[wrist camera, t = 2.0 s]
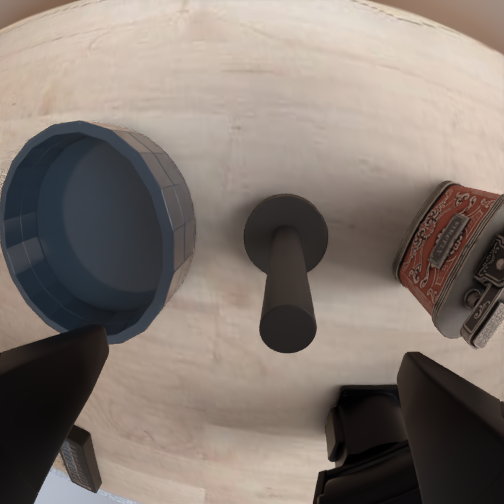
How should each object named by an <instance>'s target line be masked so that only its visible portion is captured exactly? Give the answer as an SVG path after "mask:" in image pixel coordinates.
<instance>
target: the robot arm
mask: <svg viewBox="0 0 504 504" xmlns="http://www.w3.org/2000/svg"><path fill="white" fill-rule="evenodd" d="M108 354H109V345H108V340H107V335H106V330H105V328H104V327H103V326H102V325H97V324H89V325H86V326H83V327H80V328H77V329H73V330H70V331H67V332H64V333H61V334H58V335H55V336H52V337H48V338H45V339H42V340H39V341H36V342H33V343H29V344H26V345H23V346H20V347H17V348H13V349H10V350H7V351H4V352H2V353H1V352H0V504H34V502H35V500H36V498H37V495H38V493H39V491H40V489H41V487H42V485H43V483H44V481H45V479H46V477H47V474H48V473H49V471H50V469H51V467H52V465H53V463H54V461H55V459H56V457H57V455H58V453H59V451H60V449H61V447H62V445H63V443H64V442H65V440H66V438H67V436H68V434H69V432H70V430H71V429H72V427H73V425H74V423H75V421H76V419H77V418H78V416H79V414H80V412H81V410H82V409H83V407H84V405H85V403H86V402H87V400H88V398H89V396H90V394H91V393H92V390H93V388H94V386H95V384H96V382H97V379H98V377H99V375H100V373H101V370H102V368H103V366H104V364H105V361H106V359H107V357H108ZM397 385H398V386H344V387H342V388H341V389H340V391H339V395H338V398H337V401H336V404H335V407H332V408H331V410H330V413H329V416H328V419H327V422H326V426H325V431H326V441H327V451H328V460H329V461H330V462H335V465H336V468H333V469H330V470H324V471H321V472H319V474H318V480H317V483H316V489H315V495H314V500H313V504H504V402H503V401H501V402H500V400H499V399H497V398H496V397H494V396H492V395H491V394H489V393H487V392H486V391H484V390H482V389H480V388H479V387H477V386H475V385H474V384H472V383H470V382H469V381H467V380H465V379H464V378H462V377H460V376H459V375H457V374H455V373H454V372H452V371H450V370H449V369H447V368H445V367H443V366H442V365H440V364H438V363H437V362H435V361H433V360H432V359H430V358H428V357H427V356H425V355H423V354H422V353H420V352H407V353H405V355H404V357H403V359H402V363H401V366H400V368H399V371H398V375H397ZM346 391H348V392H346ZM344 392H346V393H344Z"/></svg>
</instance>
